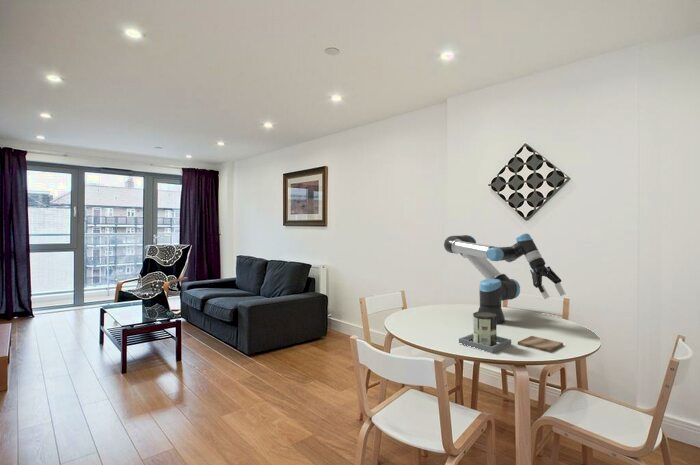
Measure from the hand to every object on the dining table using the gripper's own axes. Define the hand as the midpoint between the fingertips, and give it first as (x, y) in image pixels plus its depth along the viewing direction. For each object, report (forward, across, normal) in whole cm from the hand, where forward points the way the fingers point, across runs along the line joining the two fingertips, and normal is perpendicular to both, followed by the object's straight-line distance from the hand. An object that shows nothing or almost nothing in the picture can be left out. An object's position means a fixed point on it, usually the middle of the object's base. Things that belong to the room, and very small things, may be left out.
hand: (555, 296), depth 189 cm
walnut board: (+20, -28, 0) cm, 35 cm away
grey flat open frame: (+13, -50, +11) cm, 52 cm away
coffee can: (+13, -50, +11) cm, 52 cm away
